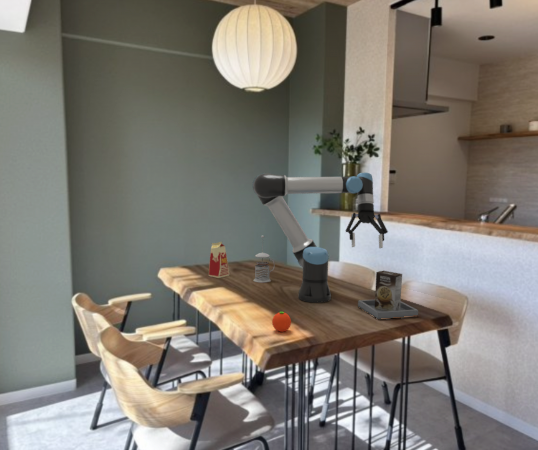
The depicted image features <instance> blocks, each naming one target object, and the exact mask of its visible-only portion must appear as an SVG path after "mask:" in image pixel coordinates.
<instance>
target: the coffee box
mask: <svg viewBox="0 0 538 450" xmlns="http://www.w3.org/2000/svg"><path fill="white" fill-rule="evenodd" d="M402 281H403V273H399V272H393V271H387V270H379V271H376V273H375V289H374V290H375V291H374V295H375V297H374V300H375V309H376V310H380V311H384V312H385V311H400V302H402V301H401V298H402V283H403V282H402Z"/></svg>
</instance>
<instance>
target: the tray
mask: <svg viewBox="0 0 538 450" xmlns="http://www.w3.org/2000/svg"><path fill="white" fill-rule="evenodd" d="M357 307H358V308H359V307H360V308H361V309H360V308H359V309H360V310H362V309H363V310H364V311H363V310H362V311H363V312H365V311H366V312H368V313H369V314H371V315H373V316H374V317H376V318H377V319H381V318H393V317H404V316H413V315H418V316H419V309H417V308H416V307H413V306H411V305H409V304H407V303H405V302H403V301H401V302H400V311H385V312H384V311H380V310H376V309H375V299H361V300H360V299H359V300H357ZM366 312H365V313H366ZM368 313H367V314H368ZM369 314H368V315H369ZM371 315H370V316H371ZM374 317H373V318H374ZM377 319H376V320H377Z"/></svg>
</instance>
